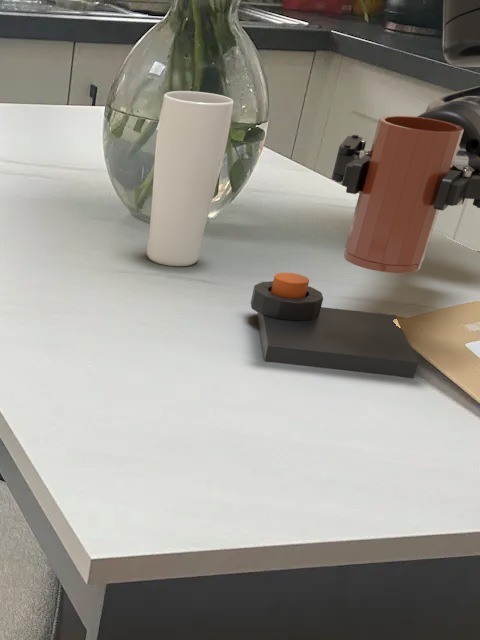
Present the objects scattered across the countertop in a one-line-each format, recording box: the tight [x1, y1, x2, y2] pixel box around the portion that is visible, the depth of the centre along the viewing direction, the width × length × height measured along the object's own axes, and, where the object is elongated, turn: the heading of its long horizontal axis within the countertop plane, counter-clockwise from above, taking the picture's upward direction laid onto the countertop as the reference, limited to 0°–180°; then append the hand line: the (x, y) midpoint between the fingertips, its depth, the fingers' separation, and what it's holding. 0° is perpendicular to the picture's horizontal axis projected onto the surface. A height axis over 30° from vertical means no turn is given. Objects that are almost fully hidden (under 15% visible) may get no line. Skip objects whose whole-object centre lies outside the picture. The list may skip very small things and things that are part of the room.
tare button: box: [271, 272, 310, 298], centre depth 94 cm, size 3×3×2 cm
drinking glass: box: [146, 90, 235, 267], centre depth 105 cm, size 7×7×15 cm
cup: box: [343, 115, 464, 274], centre depth 83 cm, size 6×6×10 cm
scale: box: [250, 280, 419, 379], centre depth 92 cm, size 13×13×3 cm
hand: (397, 187), depth 80 cm, fingers closed on cup, 6 cm apart
